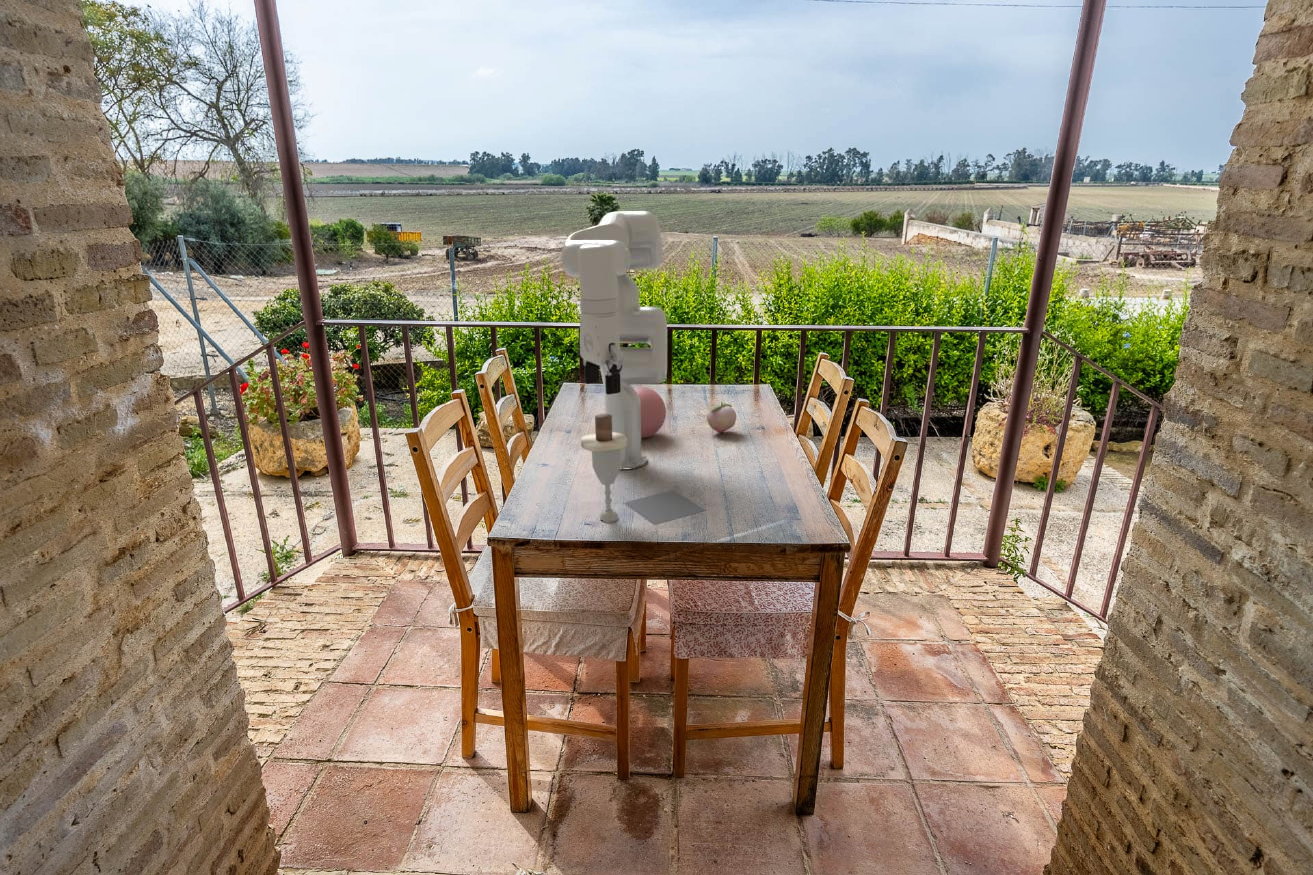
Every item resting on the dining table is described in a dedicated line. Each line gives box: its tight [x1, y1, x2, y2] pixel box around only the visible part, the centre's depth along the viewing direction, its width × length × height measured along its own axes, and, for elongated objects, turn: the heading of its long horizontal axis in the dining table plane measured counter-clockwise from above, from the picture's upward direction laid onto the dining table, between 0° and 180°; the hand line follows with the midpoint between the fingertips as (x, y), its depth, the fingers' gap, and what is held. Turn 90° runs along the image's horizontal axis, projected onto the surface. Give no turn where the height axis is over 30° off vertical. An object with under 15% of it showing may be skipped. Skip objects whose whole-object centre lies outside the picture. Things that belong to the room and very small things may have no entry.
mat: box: [623, 489, 707, 526], centre depth 162 cm, size 14×14×1 cm
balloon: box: [633, 386, 667, 439], centre depth 212 cm, size 15×20×15 cm
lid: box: [580, 413, 627, 452], centre depth 150 cm, size 10×10×6 cm
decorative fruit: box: [706, 401, 737, 434], centre depth 212 cm, size 9×8×10 cm
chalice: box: [591, 449, 621, 523], centre depth 154 cm, size 7×7×18 cm
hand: (602, 388), depth 148 cm, fingers open, 9 cm apart
